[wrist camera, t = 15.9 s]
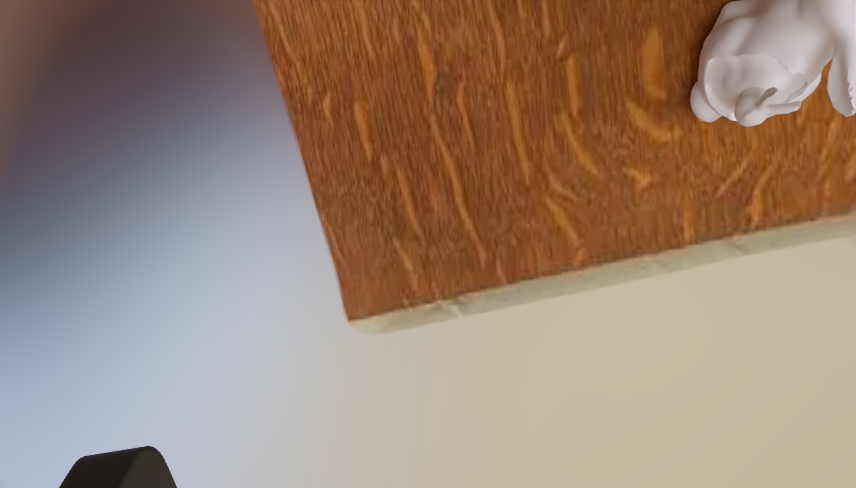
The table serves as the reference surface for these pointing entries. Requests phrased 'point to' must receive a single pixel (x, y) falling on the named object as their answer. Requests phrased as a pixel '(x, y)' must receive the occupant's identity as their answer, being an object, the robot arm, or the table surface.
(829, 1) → the rabbit figurine
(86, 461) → the robot arm
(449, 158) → the table surface
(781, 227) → the table surface
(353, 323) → the table surface
